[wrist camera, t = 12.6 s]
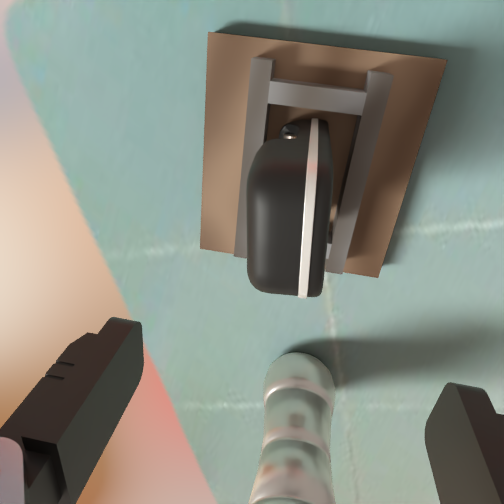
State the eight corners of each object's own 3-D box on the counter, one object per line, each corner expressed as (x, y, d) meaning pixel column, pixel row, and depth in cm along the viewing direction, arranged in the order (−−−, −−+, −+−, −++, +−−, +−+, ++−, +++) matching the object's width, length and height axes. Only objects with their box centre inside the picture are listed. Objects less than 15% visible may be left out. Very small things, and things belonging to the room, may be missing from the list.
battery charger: (269, 113, 25) (236, 164, 15) (329, 115, 24) (336, 168, 14) (267, 213, 28) (239, 308, 18) (320, 216, 28) (320, 315, 18)
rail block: (440, 58, 23) (458, 61, 20) (375, 267, 31) (381, 292, 28) (213, 32, 24) (199, 31, 21) (204, 239, 32) (192, 261, 29)
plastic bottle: (311, 333, 35) (302, 622, 18) (347, 381, 37) (371, 681, 20) (253, 357, 37) (196, 631, 20) (290, 400, 40) (268, 682, 22)
